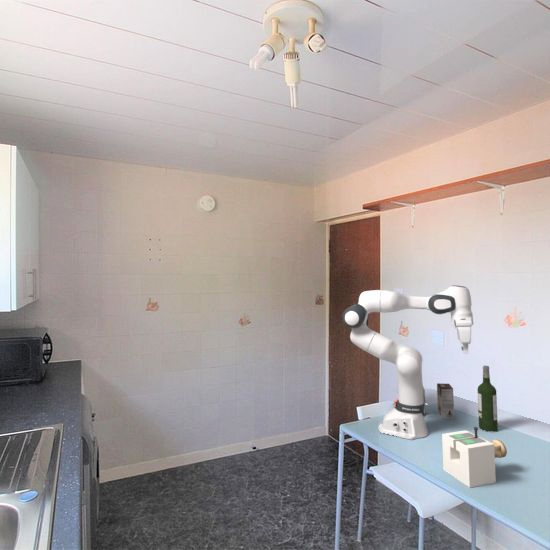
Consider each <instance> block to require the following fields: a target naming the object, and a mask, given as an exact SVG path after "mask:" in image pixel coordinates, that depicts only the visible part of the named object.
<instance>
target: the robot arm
mask: <svg viewBox="0 0 550 550" xmlns="http://www.w3.org/2000/svg"><path fill="white" fill-rule="evenodd" d="M471 296H472V295H471V292H470V290H469V288H468V287H466V286H463V285H454V284H453V285H450V286H449V287H448V288H446V289H444V290H443V291H441V292H438V293H434V294H432V295H428V296H419V295H418V296H417V295H415V296H414V295H406V294H402V293H400V292H397V291H393V290H387V289H375V290H366V291H365V290H364V291H363V292H361V293H360V295H359V297H358V303H355V304H353V305H350V306H349V307H347V308H346V309H344V311H343V312H342V322H343V323H344V325H345V326H346V327H348V328H350V329H351V330H350V331H351V332H350V335H349V338H350V341H351V342H352V344H354V346H357V347H358V348H360V350H362V351H364V352H366V353H368V354H370V355H372V356H373V357H375V358H377V359H379V360H381V361H385V362H388V363H391V364H394V365H395V366H396V376H397V386H398V390H397V391H398V392H397V393H398V398H395V399H394V400H393V401H394V404H393V405H394V408H393V409H391V410H389V411H388V412H386V413H385V415H384V416H383V420H382V422H380V423H379V424H378V426H377V427H378V428H377V429H378V430H379V431H380V432H381V433H380V432H379V431H378V432H379V433H380V434H383V433H385V434H384V435H387V434H389V435H388V436H392V435H394V436H393V437H396V436H397V437H396V438H400V439H401V438H402V439H406V440H410V441H411V440H412V441H414V440H416V439H420V438H422V439H423V438H425V437H428V436H429V432H428V429H427V423H426V419H425V418H426V417H425V414H426V405H425V406H424V402H423V388H424V384H423V372H422V370H423V369H422V366H423V356H422V354H421V352H420V351H419V350H418V349H416V348H414V347H411V346H409V345H407V344H404V343H402V342H400V341H396V340H395V339H391V338H390V337H387V336H385V335H383V334H381V333H379V332H376V331H375V330H373V329H371V328H369V326H368V324H369V319H370V318H369V315H370V313H382V314H383V313H387V314H388V313H397V312H400V311H403V310H409V309H411V310H413V309H414V310H428V311H431V312H432V314H433V313H434V314H435V315H445V314H449V313H450V320H451V321H450V322H451V326H454V329H456V331H457V333H456V334H457V335H456V336H457V339H458V341H459V343H460V348H461V351H463V354H464V355H465V354H467V355H468V354H469V345H471V342H472V327H473V325H474V317H473V311H472V303H473V302H472V297H471ZM382 423H383V424H382Z"/></svg>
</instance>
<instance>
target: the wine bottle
mask: <svg viewBox="0 0 550 550" xmlns="http://www.w3.org/2000/svg"><path fill="white" fill-rule="evenodd" d="M497 400H498V396H497V389H496V387H495V386H494V385H492V383H491V376H490V366H489V365H482V382H481V384H479V385H478V387H477V410H478V413H477V414H478V429H480V430H481V429H482V431H484V430H485V431H484V432H488V431H496V432H498V431H497V430H499V426H498V424H499V422H498V403H497V402H498V401H497Z"/></svg>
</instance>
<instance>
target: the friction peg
mask: <svg viewBox="0 0 550 550" xmlns="http://www.w3.org/2000/svg"><path fill="white" fill-rule="evenodd" d="M473 430H474V434H475V438H479V436H478V430H479V427H477V426H474V427H473ZM477 436H478V437H477ZM490 442H491V443H493V444H494V452H495V459H496V458H499V459H502V458H505V457H507V454H508V451H507V447H506V445H505V444H504V442H502V441H501V440H500V439H494V440H491V441H490Z"/></svg>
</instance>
